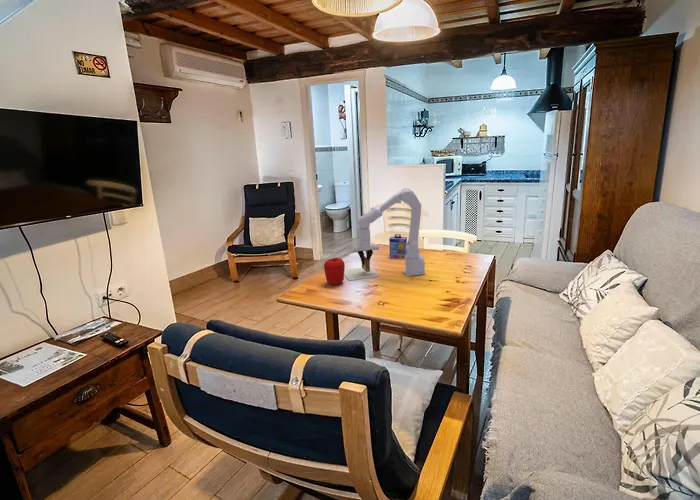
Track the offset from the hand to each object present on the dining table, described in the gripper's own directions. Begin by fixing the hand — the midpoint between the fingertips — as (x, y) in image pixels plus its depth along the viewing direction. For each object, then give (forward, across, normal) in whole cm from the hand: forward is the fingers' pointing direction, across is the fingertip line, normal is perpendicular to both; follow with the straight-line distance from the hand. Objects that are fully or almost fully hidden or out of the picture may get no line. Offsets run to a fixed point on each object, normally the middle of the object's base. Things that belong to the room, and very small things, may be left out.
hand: (365, 264), depth 202 cm
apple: (+6, +18, +6) cm, 20 cm away
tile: (+3, 0, 0) cm, 3 cm away
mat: (+6, +3, -2) cm, 7 cm away
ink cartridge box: (+6, -27, -21) cm, 35 cm away
